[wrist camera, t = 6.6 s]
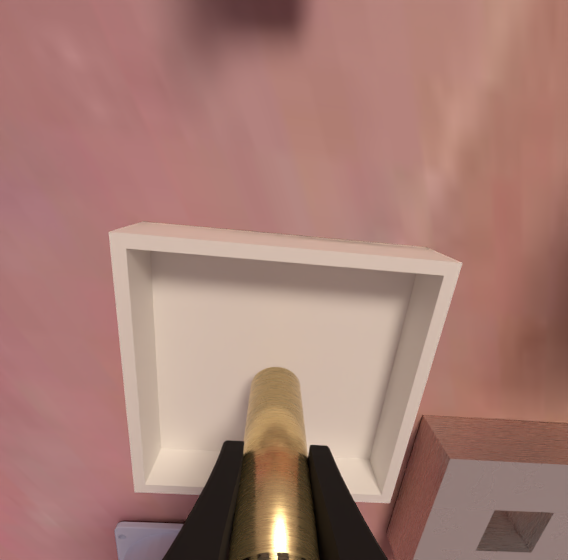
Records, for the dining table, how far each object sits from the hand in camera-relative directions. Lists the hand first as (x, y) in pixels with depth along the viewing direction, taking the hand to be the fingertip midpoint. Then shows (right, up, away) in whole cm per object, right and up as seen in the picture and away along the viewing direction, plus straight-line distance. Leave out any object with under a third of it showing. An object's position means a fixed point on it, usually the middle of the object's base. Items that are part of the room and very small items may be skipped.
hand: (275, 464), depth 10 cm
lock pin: (0, +1, +4) cm, 4 cm away
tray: (0, +2, +6) cm, 7 cm away
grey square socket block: (+14, -8, +10) cm, 19 cm away
